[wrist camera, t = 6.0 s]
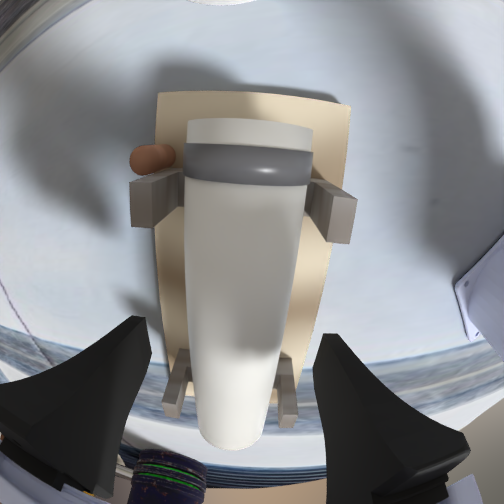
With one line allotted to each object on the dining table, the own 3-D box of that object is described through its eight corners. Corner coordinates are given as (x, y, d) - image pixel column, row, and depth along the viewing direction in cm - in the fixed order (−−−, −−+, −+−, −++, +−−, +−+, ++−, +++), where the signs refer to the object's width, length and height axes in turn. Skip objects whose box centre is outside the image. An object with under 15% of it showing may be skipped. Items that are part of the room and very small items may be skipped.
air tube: (264, 401, 16) (264, 453, 12) (202, 396, 16) (192, 447, 12) (303, 133, 10) (330, 128, 6) (199, 125, 10) (167, 117, 6)
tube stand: (162, 95, 11) (109, 74, 6) (344, 108, 12) (395, 91, 6) (176, 383, 19) (160, 439, 14) (290, 394, 19) (295, 452, 14)
